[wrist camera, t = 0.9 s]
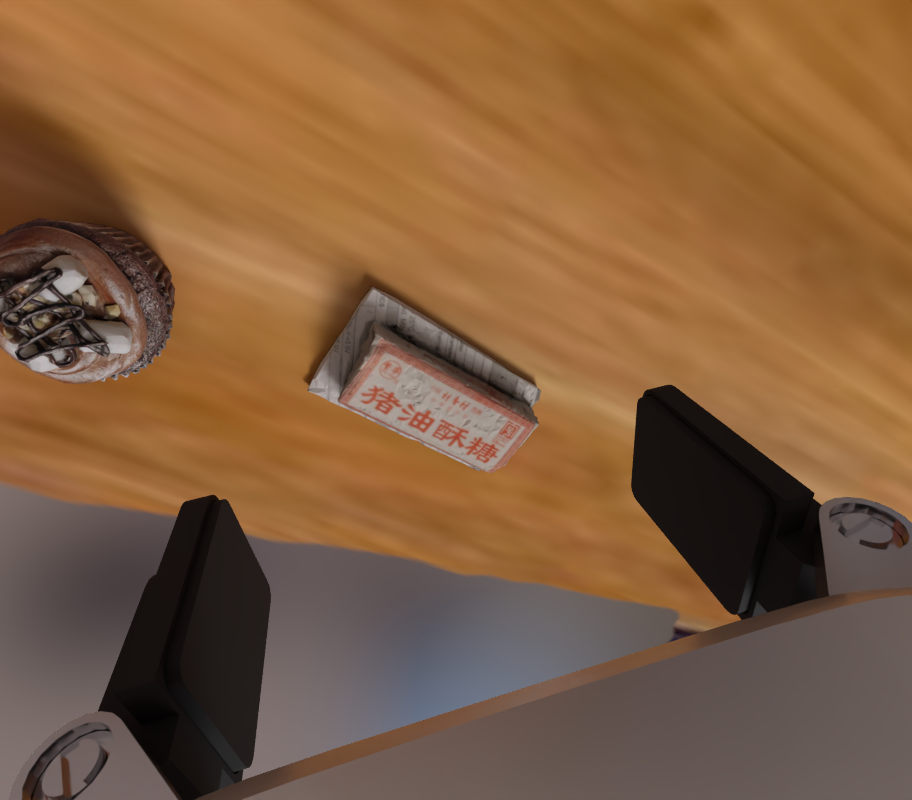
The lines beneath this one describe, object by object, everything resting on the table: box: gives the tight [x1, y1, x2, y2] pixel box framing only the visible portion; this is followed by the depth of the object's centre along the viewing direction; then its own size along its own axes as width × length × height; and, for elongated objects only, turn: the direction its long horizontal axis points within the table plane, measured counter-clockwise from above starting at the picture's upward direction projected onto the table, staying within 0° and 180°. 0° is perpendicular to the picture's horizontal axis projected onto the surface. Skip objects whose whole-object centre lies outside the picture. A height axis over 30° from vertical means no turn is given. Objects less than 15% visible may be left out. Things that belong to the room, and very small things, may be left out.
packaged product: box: [308, 287, 541, 473], centre depth 41 cm, size 18×5×10 cm
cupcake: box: [0, 218, 175, 384], centre depth 29 cm, size 10×10×10 cm
